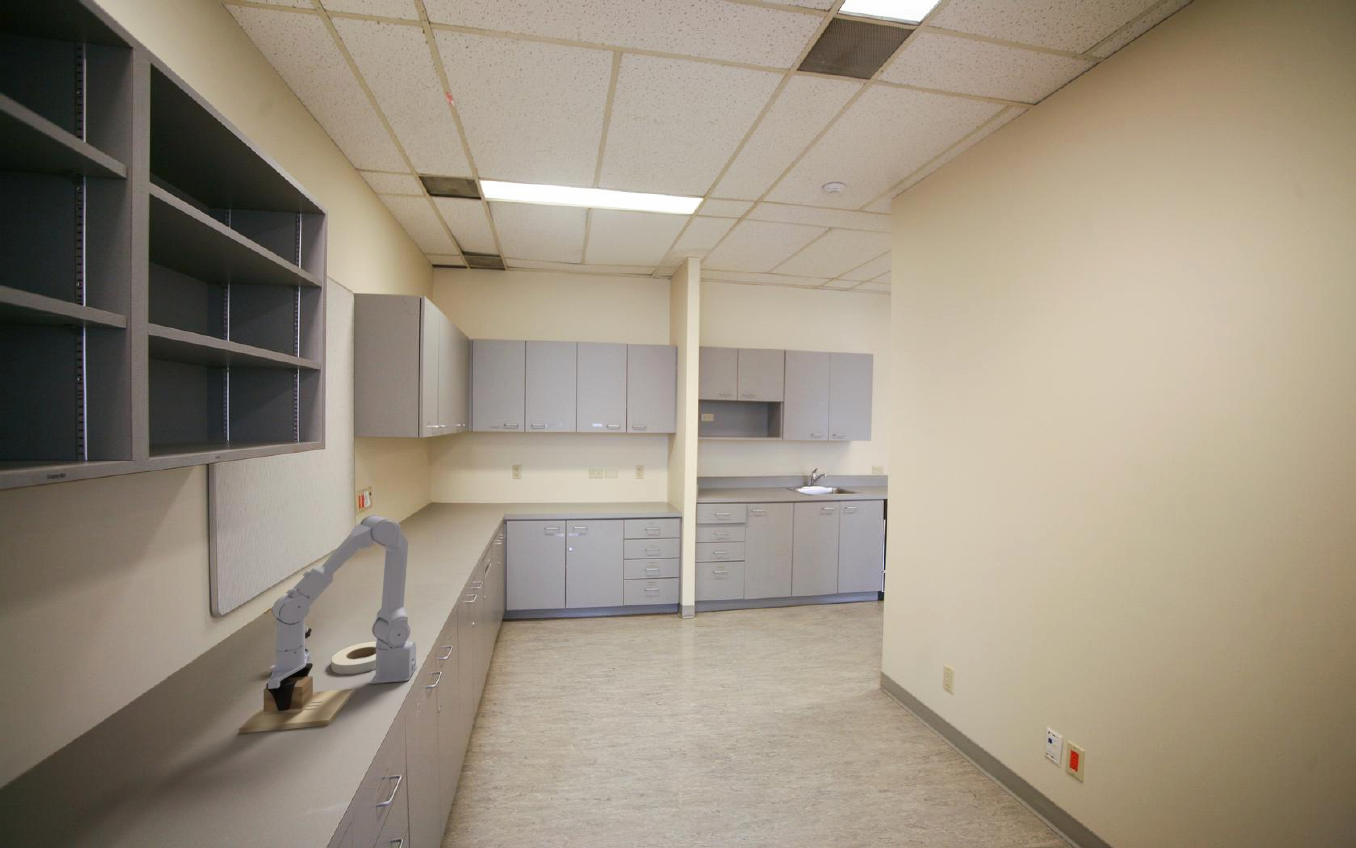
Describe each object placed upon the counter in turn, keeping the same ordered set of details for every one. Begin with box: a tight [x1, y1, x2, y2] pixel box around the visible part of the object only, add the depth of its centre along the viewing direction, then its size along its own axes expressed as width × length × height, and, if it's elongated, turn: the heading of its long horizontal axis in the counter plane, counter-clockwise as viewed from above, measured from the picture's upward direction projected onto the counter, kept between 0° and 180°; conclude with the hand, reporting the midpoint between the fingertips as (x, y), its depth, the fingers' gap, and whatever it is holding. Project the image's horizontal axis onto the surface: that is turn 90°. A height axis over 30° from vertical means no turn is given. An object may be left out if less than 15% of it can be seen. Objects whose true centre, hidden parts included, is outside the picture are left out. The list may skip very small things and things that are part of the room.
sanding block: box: [263, 675, 314, 715], centre depth 124 cm, size 8×5×6 cm, turn 101°
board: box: [238, 688, 355, 734], centre depth 124 cm, size 18×14×1 cm
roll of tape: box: [330, 640, 377, 675], centre depth 151 cm, size 16×15×3 cm
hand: (290, 703), depth 124 cm, fingers closed on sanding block, 5 cm apart
